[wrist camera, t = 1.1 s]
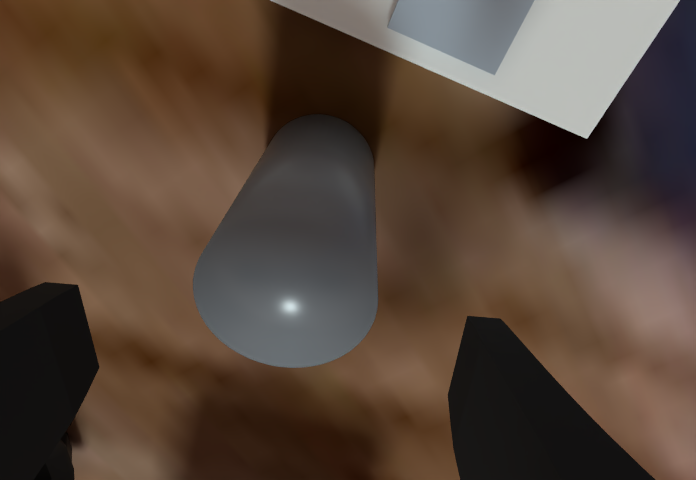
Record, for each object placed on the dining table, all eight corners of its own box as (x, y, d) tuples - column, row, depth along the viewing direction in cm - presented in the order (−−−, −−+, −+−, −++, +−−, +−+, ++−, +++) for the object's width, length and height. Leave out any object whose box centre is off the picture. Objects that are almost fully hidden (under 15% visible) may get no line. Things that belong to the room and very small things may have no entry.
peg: (392, 139, 16) (409, 257, 9) (350, 231, 18) (338, 386, 11) (284, 96, 16) (217, 186, 9) (252, 196, 18) (176, 336, 11)
